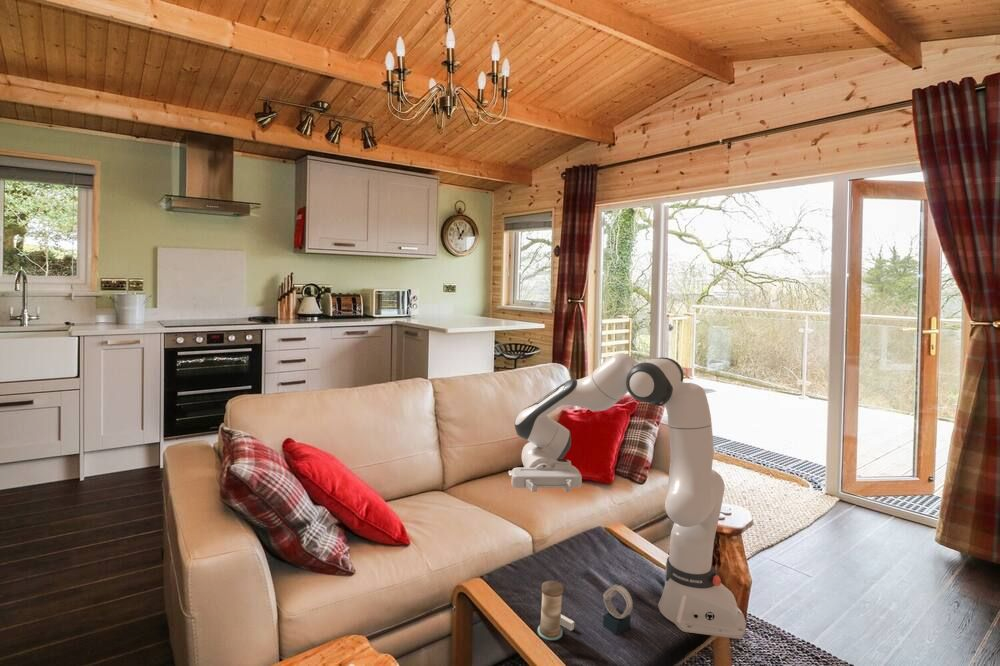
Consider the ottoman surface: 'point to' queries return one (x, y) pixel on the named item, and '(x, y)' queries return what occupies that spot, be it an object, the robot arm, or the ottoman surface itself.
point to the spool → (551, 609)
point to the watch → (617, 610)
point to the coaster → (550, 637)
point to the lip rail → (567, 623)
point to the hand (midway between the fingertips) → (551, 489)
